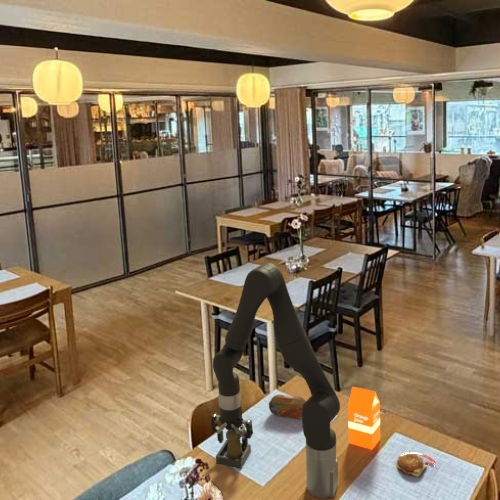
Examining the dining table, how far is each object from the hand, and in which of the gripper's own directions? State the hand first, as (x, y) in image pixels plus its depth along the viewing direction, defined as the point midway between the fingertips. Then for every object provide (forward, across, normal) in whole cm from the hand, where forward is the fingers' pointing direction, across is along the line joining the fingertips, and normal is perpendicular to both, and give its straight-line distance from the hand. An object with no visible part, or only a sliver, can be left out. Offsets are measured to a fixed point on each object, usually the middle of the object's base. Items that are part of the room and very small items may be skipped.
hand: (232, 444), depth 186 cm
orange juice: (+6, +41, +22) cm, 47 cm away
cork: (+6, 0, 0) cm, 6 cm away
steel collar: (+6, 0, 0) cm, 6 cm away
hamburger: (+6, +59, +14) cm, 61 cm away
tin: (+6, +11, +29) cm, 32 cm away
